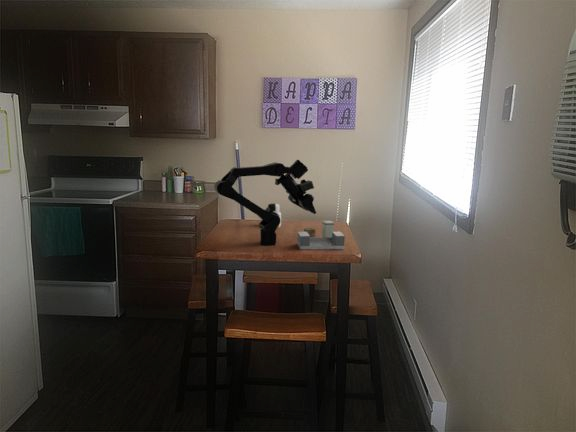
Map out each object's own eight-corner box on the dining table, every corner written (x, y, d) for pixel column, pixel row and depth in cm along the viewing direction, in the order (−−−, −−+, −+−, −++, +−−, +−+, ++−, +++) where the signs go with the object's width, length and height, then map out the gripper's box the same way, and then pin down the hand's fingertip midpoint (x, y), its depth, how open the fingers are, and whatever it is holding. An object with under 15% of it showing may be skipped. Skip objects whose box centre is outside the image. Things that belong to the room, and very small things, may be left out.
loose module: (325, 242, 200) (325, 222, 198) (321, 239, 204) (322, 220, 203) (333, 241, 201) (334, 222, 200) (329, 239, 206) (330, 220, 204)
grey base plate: (300, 249, 186) (300, 242, 185) (296, 243, 196) (297, 237, 195) (344, 249, 188) (344, 242, 188) (338, 243, 198) (339, 237, 197)
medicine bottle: (265, 227, 230) (265, 204, 228) (267, 224, 237) (268, 202, 235) (279, 228, 229) (279, 205, 227) (281, 225, 236) (281, 203, 234)
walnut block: (307, 238, 208) (308, 229, 207) (303, 236, 211) (303, 228, 210) (315, 237, 209) (315, 229, 209) (310, 235, 213) (311, 227, 212)
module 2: (335, 245, 188) (336, 235, 187) (331, 241, 196) (332, 231, 195) (344, 245, 188) (344, 235, 188) (339, 241, 196) (340, 231, 195)
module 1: (300, 245, 186) (300, 235, 185) (297, 241, 194) (297, 231, 193) (309, 245, 186) (309, 235, 186) (306, 241, 194) (306, 231, 194)
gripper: (312, 175, 186) (332, 202, 192) (296, 172, 204) (316, 197, 209) (292, 193, 185) (314, 220, 190) (279, 188, 202) (299, 213, 208)
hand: (311, 211), depth 199 cm, fingers open, 9 cm apart
